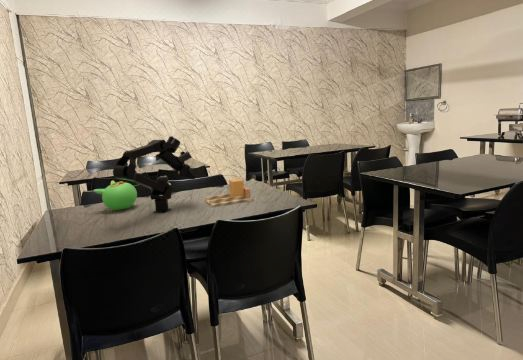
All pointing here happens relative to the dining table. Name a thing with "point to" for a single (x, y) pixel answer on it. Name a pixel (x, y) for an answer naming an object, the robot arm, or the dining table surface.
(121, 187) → the green teapot
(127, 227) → the dining table surface
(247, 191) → the stop band
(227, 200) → the checkered wooden board
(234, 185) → the orange block
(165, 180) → the medicine bottle
